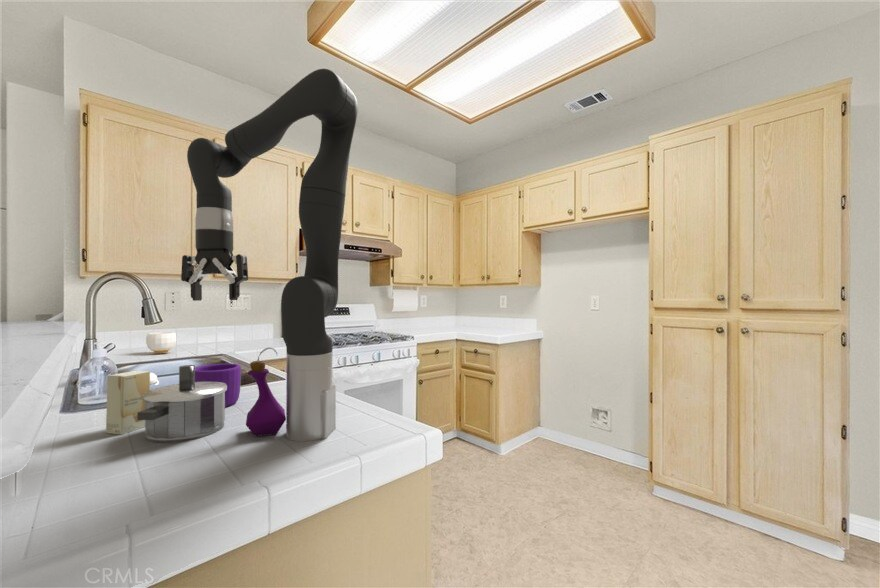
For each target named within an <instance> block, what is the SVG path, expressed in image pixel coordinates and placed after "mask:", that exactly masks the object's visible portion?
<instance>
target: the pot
mask: <svg viewBox="0 0 880 588" xmlns="http://www.w3.org/2000/svg"><path fill="white" fill-rule="evenodd" d="M225 411H226V407H225V392H223V393H221V394H219V395H216V396H213V397H209V398H204V399H199V400H194V401H187V402H177V403H149V402H145V410H143V411H140V412H138V419H137V420H145V427H144V433H145V439H146V441H148V442H152V443H158V444H159V443H160V444H161V443H163V444H165V443H167V444H168V443H169V444H171V443H181V442H188V441H193V440H196V439H200V438H204V437H207V436H210V435H212V434H213V435H214V434H216V433H217V432H219V431H221V430H222V429H223V428H224V427H225V421H226V419H225V418H226V412H225Z"/></svg>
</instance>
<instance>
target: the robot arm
mask: <svg viewBox="0 0 880 588" xmlns="http://www.w3.org/2000/svg"><path fill="white" fill-rule="evenodd" d="M358 105H359V104H358V100H357V97H356V95H355V94H354V91H352V89H351V88H350V87H349V86H348V85H347V84H346V82H344V80H343V79H342V78H340V76H339V75H338V74H336V73H335V72H334V71H333V70H331V69H329V68H319V69H316V70H313V71H312V72H310V73H309V74H307V75H305V76H304V77H303V78H301V79H300V80H299V81H298V82H297V83H295V85H293V86H292V87H290V89H288V90H287V91H286V92H284V94H283V95H281V96H280V97H279V98H278V99H276V100H275V101H274V102H273V103H271V104H270V105H269V106H268V107H266V108H265V109H264V110H262V112H259V114H257V115H255V116H253V117H252V118H249V119H248V120H246V121H244V122H242V123H240V124H239V125H236V126H235V127H232V128H231V129H230V130H228V131H227V132H226V134H225V136H224V143H225V145H226V146H223V145H221V144H220V143H217V142H214V141H213V140H212V139H208V138H204V137H198V138H195V139H194V140H192V141H191V143H190V144H189V146H188V149H187V152H186V153H187V154H186V158H187V164H188V168H189V171H190V175H191V178H192V183H193V185H194V188H195V191H196V213H195V219H194V221H195V222H194V223H195V226H194V230H195V231H194V233H195V242H194V243H195V250H196V255H195V256H193V255H187V254H184V255H182V258H181V275H180V280H181V281H182V282H185V283H188V284H190V298H191V299H192V301H194V302H195V301H199V302H200V301H202V299H203V294H202V293H203V289H202V288H203V287H202V286H203V285H202V284H201V283H202V282H203V280H204V279H205V278H207V277H208V276H209V275H215V274H218V275H223V276H224V277H225V278H227V280H228V281H229V284H228V287H229V289H228V290H229V291H228V294H229V297H228V298H229V300H230V301H237V300H238V298H240V294H241V292H240V291H241V289H240V288H241V286H240V284H241V283H243V282H247V281H249V270H248V269H249V268H248V267H249V266H248V257H247V255H244V254H241V253H240V254H239V253H238V254H236V255H234V254H233V252H234V220H233V219H234V218H233V212H232V211H233V208H232V205H233V202H232V201H233V200H232V199H233V198H232V191H231V189H230V188H229V187H228V186H227V185H225V184H224V183H223V182H222V181H221V180H220V178H222V179H224V178H225V179H227V178H232V177H235V176H236V175H237V174H239V173H240V172H241V171H243V169H244V168H245V167H246V166H247V165H248V164H249V163H250V162H251V160H252V159H256V158H257V157H259V156H261V155H264V154H265V153H267V152H269V151H270V150H272V149H274V148H275V147H276V146H277V145H278V144H279V143H280V142H281V140H283V138H284V135H285V134H286V132H287V131H288V129H289V128H290V127H291V126H292V125H293V124H295V122H297V121H299V120H302V119H304V118H306V117H310V116H312V115H313V116H314V117H316V118H317V119H318V120H319V121H320V122H321V135H320V143H319V148H318V152H317V154H316V156H315V158H314V159H313V161H312V162H311V163H310V165H309V167H308V168H307V169H306V171H305V173H304V175H303V177H302V180H301V183H300V191H299V201H298V202H299V203H298V218H299V223H300V224H299V225H300V229H301V234H302V237H303V241H304V245H305V252H306V254H305V255H306V259H305V260H306V261H305V268H304V275H301V276H295V277H293V278H291V279H290V280H289V281H288V282H287V283H286V284H285V285H284V288H283V290H282V293H281V299H280V315H281V316H280V317H281V335H282V340H283V342H284V343H285V346H286V347H285V349H286V374H285V375H286V385H285V387H286V399H285V400H286V401H285V402H286V403H285V405H286V412H285V416H286V420H285V422H286V425H285V426H286V427H285V429H286V434H285V435H286V439H288V440H290V441H294V442H311V441H317V440H326V439H328V437H330V435H331V434H332V433H333V432H334V431H335V430H336V428H337V427H336V424H337V423H336V421H337V419H336V417H337V416H336V414H337V413H336V409H337V408H336V400H337V399H336V397H337V396H336V393H337V391H336V390H337V388H336V387H337V386H336V385H334V384H333V339H332V338H331V337H330V336H329V335H328V334H327V330H326V326H325V325H326V318H327V317H328V316H330V315H331V314H332V313H333V312H334V311H335V309H336V307H337V305H338V300H339V255H340V248H341V246H340V245H341V238H342V229H343V228H342V227H343V221H344V213H345V205H346V203H345V201H346V195H347V194H346V191H347V181H348V180H347V179H348V178H347V177H348V171H349V162H350V153H351V148H352V142H353V137H354V134H355V133H354V132H355V128H356V125H357V119H358V114H359V113H358V111H359V109H358ZM233 264H235V265H236V271H235V269H234V268H233V266H232V265H233ZM195 265H197V267H196V268H195Z"/></svg>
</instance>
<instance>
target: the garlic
mask: <svg viewBox="0 0 880 588" xmlns="http://www.w3.org/2000/svg"><path fill="white" fill-rule="evenodd" d="M159 384H160V381H159V380H158V375H156V374H155V373H153V372H150V386H151V385H153V386H154V387H155V386H158V385H159Z"/></svg>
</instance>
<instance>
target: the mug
mask: <svg viewBox="0 0 880 588" xmlns="http://www.w3.org/2000/svg"><path fill="white" fill-rule="evenodd" d="M241 380H242V366H241V365H240V364H237V363H213V364H205V365H200V366H195V382H207V381H209V382H222V383H225V384H227V390H226V391H225V408H226V407H229V406H231V405H234V404H235V403H237V402H238V400H239V398H240V394H241V383H242V381H241Z"/></svg>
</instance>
